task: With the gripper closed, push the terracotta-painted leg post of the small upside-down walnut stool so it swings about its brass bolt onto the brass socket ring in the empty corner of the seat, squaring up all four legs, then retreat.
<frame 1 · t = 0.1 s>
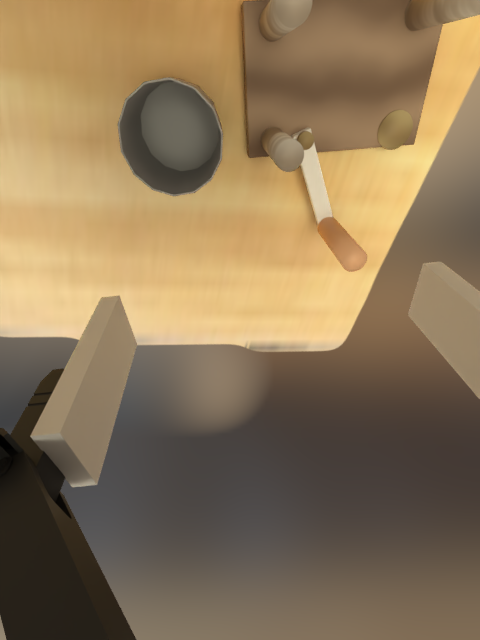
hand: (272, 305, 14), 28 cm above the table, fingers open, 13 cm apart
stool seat: (332, 81, 32), on the table
cup: (181, 128, 34), on the table
hinged leg: (327, 199, 32), point 7 cm above the table, hinge at 70.0°
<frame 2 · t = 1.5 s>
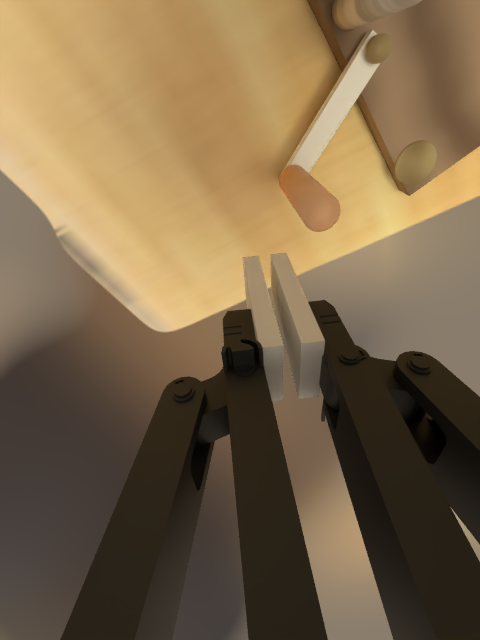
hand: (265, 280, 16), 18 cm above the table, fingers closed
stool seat: (426, 51, 26), on the table
hinged leg: (344, 130, 22), point 7 cm above the table, hinge at 70.0°
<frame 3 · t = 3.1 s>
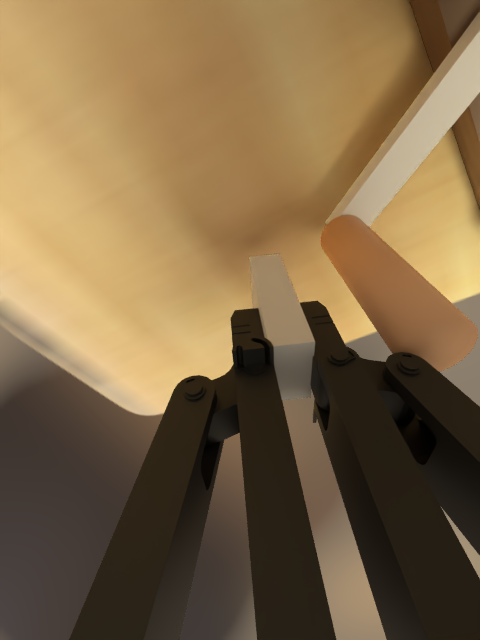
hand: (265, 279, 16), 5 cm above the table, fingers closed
hinged leg: (464, 169, 12), point 7 cm above the table, hinge at 69.8°, touching gripper
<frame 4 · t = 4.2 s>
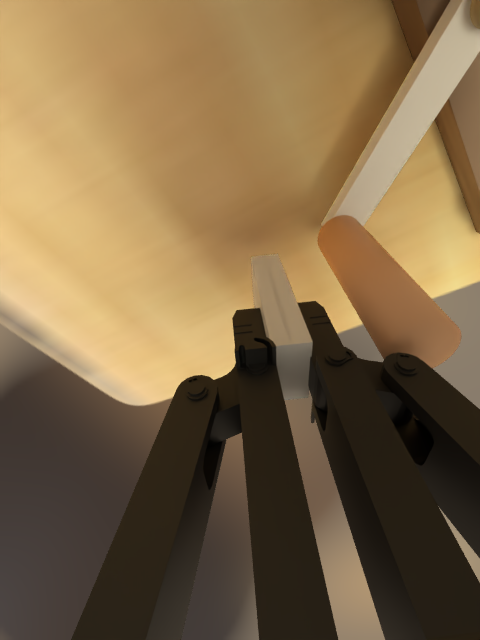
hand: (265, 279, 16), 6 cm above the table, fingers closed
hinged leg: (444, 166, 12), point 7 cm above the table, hinge at 62.5°, touching gripper
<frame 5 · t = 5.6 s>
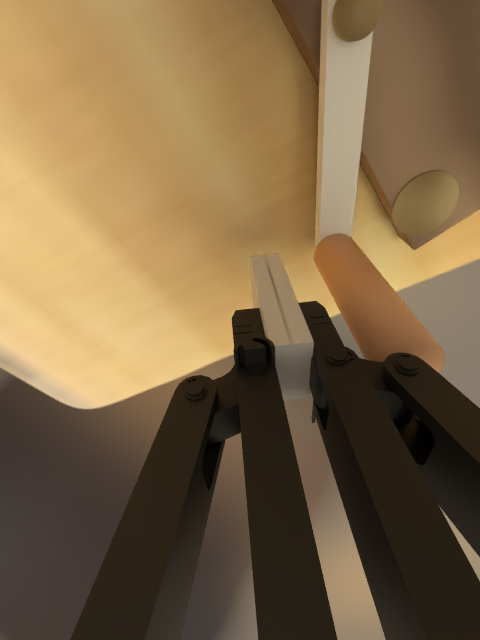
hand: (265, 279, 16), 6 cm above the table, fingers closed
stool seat: (447, 20, 15), on the table
hinged leg: (373, 187, 12), point 7 cm above the table, hinge at 32.8°, touching gripper
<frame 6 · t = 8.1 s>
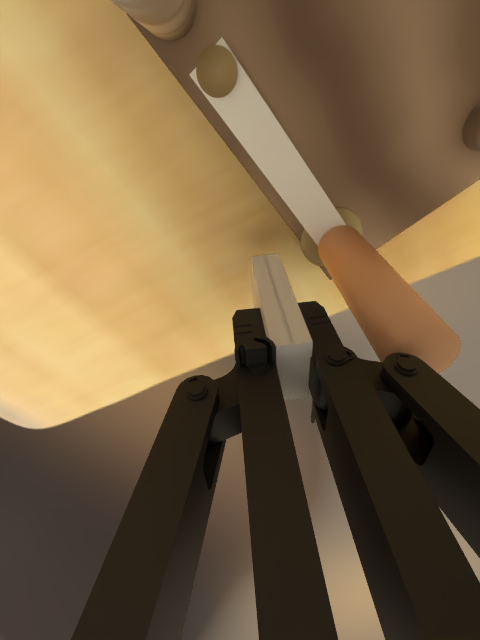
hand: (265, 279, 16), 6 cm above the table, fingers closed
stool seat: (332, 70, 16), on the table
hinged leg: (309, 201, 12), point 7 cm above the table, hinge at -0.5°, touching gripper
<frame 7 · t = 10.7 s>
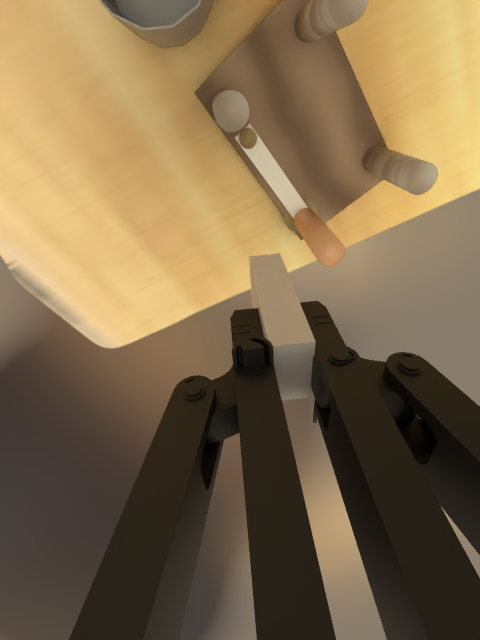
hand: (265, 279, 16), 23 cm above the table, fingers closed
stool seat: (299, 132, 32), on the table
hinged leg: (287, 194, 29), point 7 cm above the table, hinge at -0.9°
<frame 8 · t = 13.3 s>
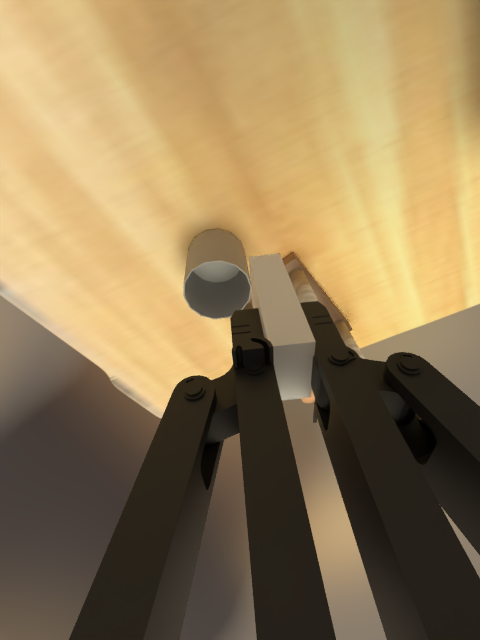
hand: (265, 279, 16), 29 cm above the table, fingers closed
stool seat: (292, 310, 54), on the table
cup: (216, 255, 47), on the table
hinged leg: (285, 359, 50), point 7 cm above the table, hinge at -0.9°
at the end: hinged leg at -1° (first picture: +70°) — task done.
